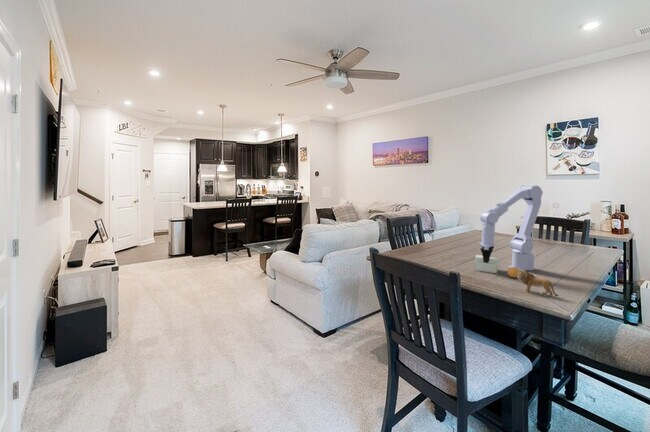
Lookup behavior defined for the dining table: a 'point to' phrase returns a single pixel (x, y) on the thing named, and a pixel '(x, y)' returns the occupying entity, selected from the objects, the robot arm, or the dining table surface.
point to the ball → (513, 272)
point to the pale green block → (486, 264)
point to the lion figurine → (535, 282)
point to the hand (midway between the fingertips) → (486, 260)
